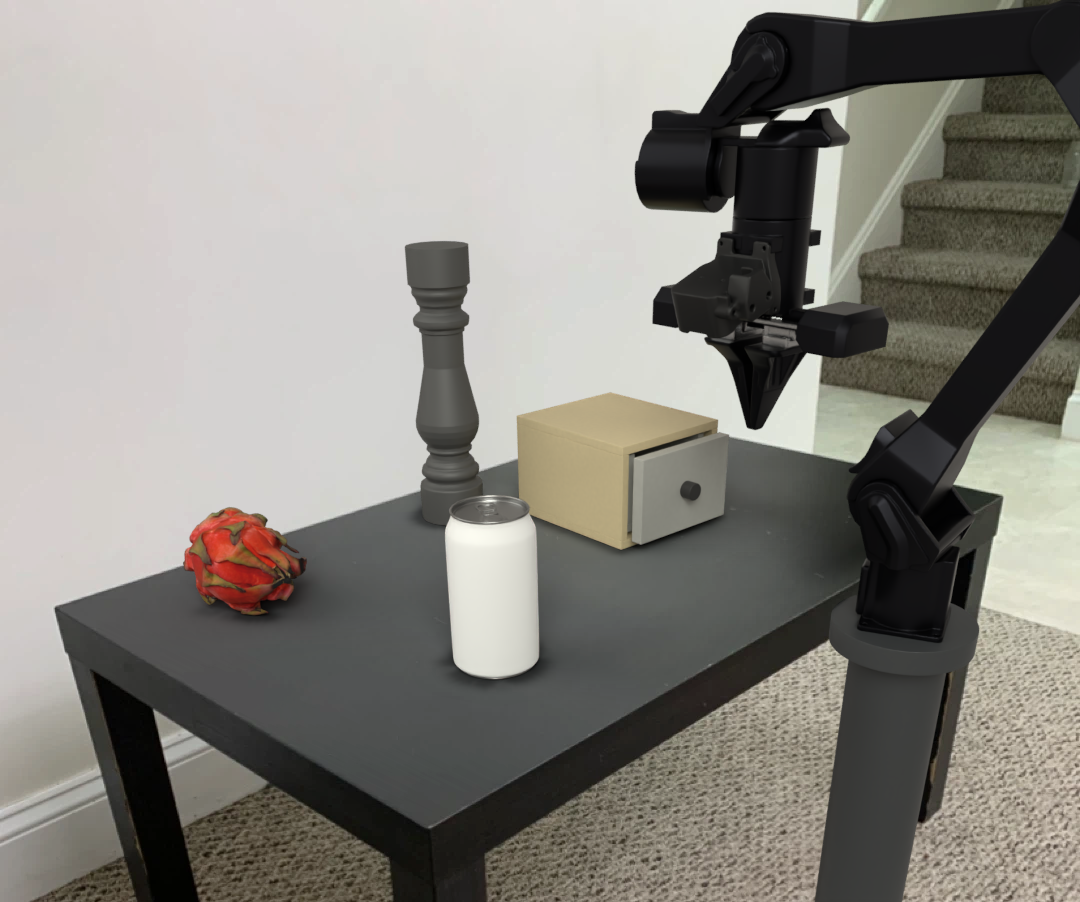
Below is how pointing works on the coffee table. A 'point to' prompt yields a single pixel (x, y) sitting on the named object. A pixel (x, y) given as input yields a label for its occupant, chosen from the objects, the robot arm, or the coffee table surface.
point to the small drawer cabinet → (593, 459)
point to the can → (493, 586)
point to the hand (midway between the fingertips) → (754, 428)
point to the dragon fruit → (241, 561)
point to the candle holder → (443, 376)
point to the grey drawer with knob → (676, 485)
